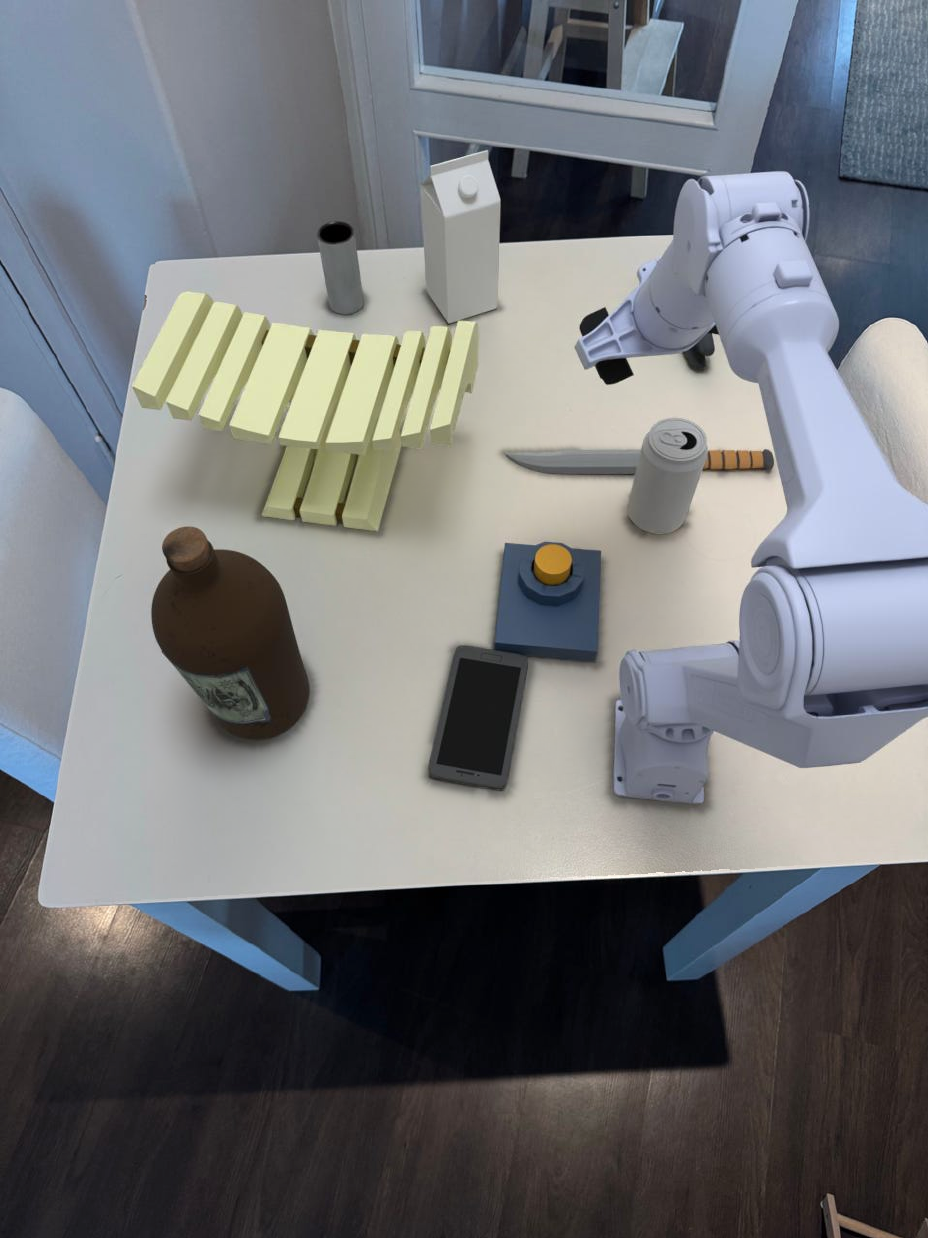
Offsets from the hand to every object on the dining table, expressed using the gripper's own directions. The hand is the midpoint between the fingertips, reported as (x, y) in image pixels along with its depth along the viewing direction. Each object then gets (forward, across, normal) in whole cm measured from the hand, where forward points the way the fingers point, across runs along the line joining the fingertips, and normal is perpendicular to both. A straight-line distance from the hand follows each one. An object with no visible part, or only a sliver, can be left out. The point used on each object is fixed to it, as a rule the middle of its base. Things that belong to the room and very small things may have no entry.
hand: (640, 348), depth 71 cm
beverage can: (+20, -1, +14) cm, 24 cm away
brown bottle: (+10, +44, +13) cm, 47 cm away
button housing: (+14, +15, +18) cm, 27 cm away
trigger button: (+12, +13, +14) cm, 23 cm away
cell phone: (+8, +26, +24) cm, 36 cm away
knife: (+24, -3, +8) cm, 25 cm away
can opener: (+35, -19, -6) cm, 41 cm away
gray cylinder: (+40, +19, -28) cm, 52 cm away
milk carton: (+40, +5, -22) cm, 46 cm away
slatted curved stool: (+25, +28, -6) cm, 39 cm away
